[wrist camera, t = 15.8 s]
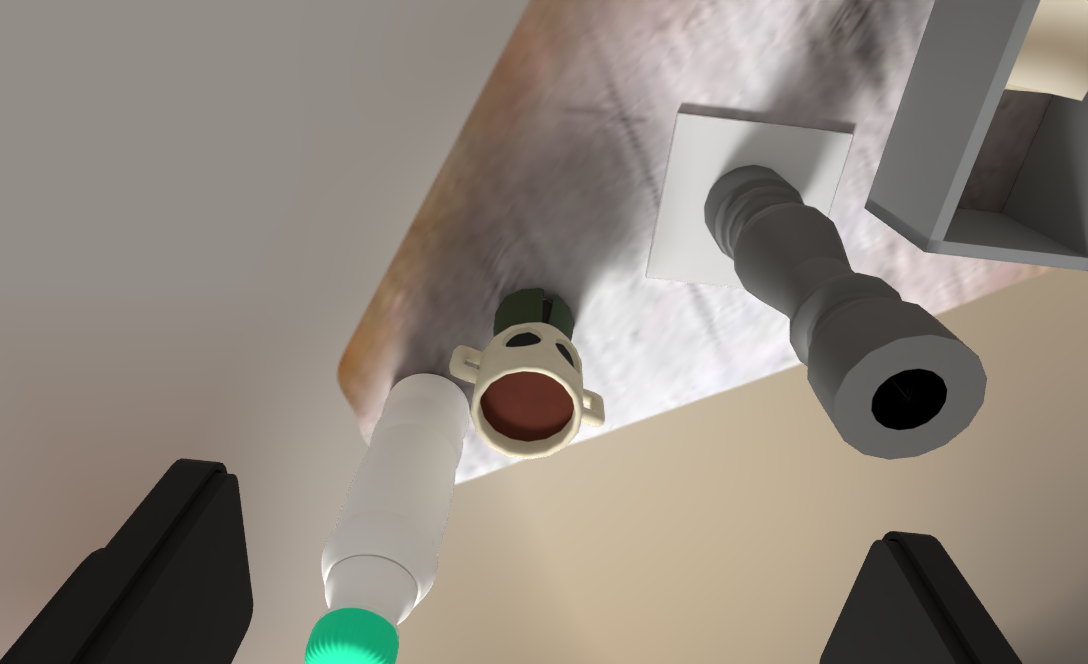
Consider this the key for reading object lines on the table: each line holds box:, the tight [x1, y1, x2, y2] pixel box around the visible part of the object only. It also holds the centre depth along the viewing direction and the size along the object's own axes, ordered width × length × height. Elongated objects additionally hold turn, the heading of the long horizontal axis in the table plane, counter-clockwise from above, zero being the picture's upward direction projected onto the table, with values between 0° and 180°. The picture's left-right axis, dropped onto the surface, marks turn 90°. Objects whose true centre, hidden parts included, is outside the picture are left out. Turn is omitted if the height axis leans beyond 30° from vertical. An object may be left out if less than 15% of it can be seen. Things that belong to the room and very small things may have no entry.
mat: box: [645, 112, 853, 289], centre depth 48 cm, size 12×12×1 cm
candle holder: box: [704, 165, 987, 459], centre depth 37 cm, size 6×6×25 cm
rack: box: [865, 0, 1088, 271], centre depth 41 cm, size 16×11×9 cm, turn 174°
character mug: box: [449, 288, 605, 459], centre depth 47 cm, size 11×7×13 cm, turn 68°
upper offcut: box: [1007, 0, 1088, 101], centre depth 40 cm, size 6×7×2 cm
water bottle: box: [305, 374, 470, 664], centre depth 46 cm, size 7×7×25 cm
